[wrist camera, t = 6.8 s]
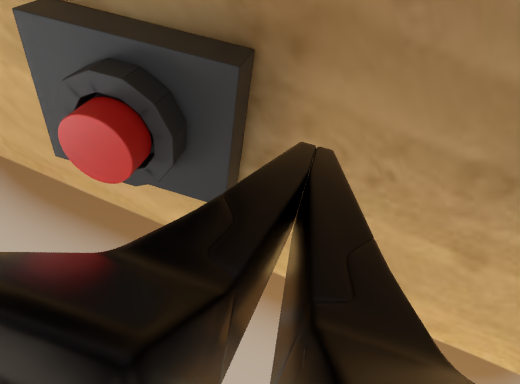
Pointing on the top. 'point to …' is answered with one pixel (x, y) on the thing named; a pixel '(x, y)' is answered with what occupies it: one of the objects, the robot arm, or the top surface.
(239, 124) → the grey button base
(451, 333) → the top surface
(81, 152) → the power button
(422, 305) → the top surface
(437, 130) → the top surface
